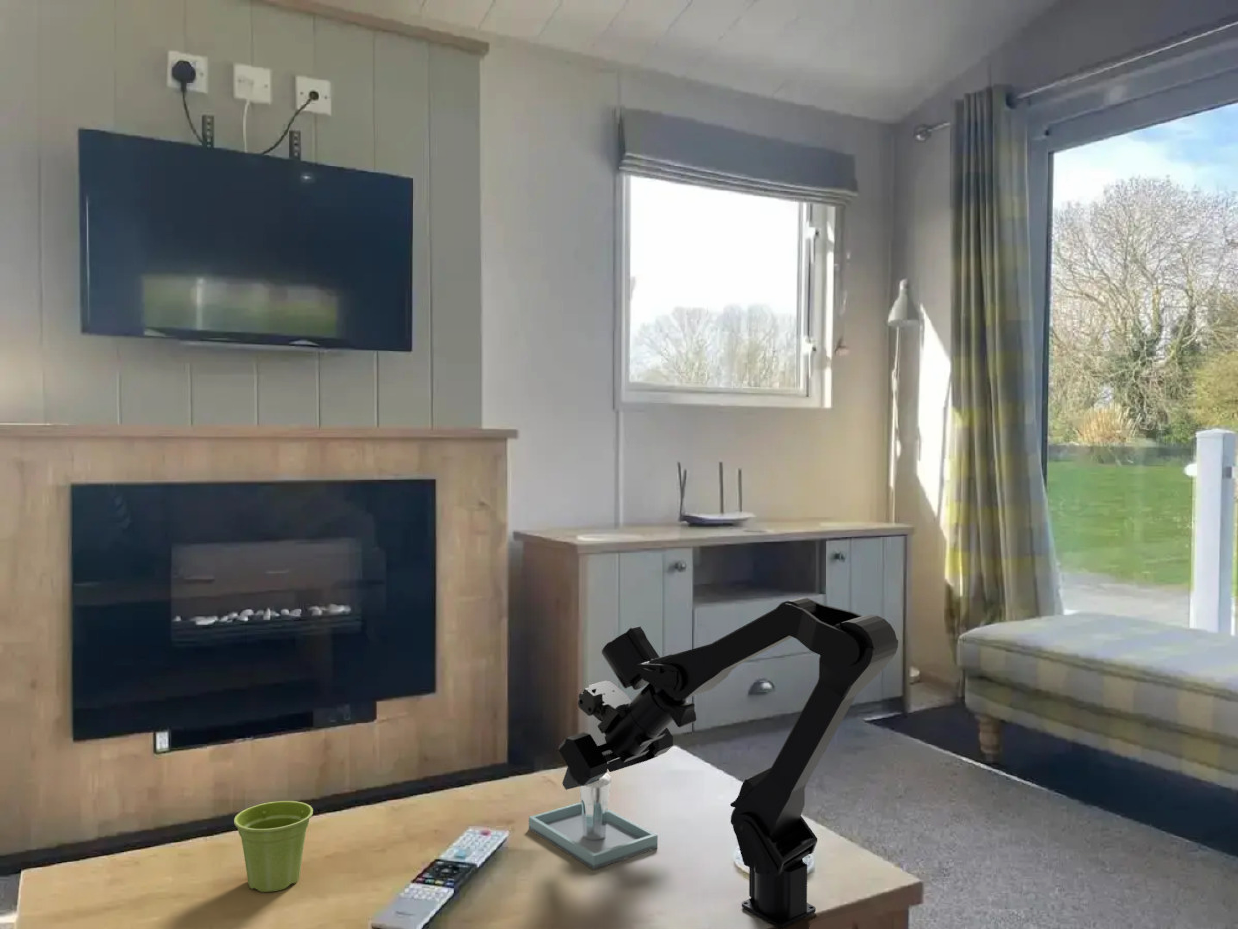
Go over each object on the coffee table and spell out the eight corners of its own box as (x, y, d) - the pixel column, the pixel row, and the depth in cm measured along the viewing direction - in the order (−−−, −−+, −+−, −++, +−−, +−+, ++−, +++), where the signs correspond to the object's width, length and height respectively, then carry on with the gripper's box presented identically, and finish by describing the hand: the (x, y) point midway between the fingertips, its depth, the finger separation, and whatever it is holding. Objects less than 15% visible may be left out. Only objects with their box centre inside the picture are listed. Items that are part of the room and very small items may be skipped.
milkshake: (596, 824, 134) (597, 756, 134) (616, 837, 130) (617, 767, 130) (569, 831, 132) (570, 762, 132) (589, 845, 127) (589, 773, 127)
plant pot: (235, 871, 120) (235, 805, 120) (311, 860, 123) (311, 796, 123) (232, 905, 111) (232, 834, 111) (314, 892, 115) (314, 823, 114)
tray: (657, 847, 128) (657, 835, 128) (593, 869, 121) (593, 856, 121) (589, 811, 140) (589, 799, 140) (528, 829, 134) (528, 817, 134)
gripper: (657, 655, 134) (601, 715, 142) (569, 679, 120) (511, 745, 128) (701, 719, 129) (640, 778, 137) (614, 752, 115) (551, 816, 123)
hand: (587, 777), depth 131 cm, fingers open, 9 cm apart
